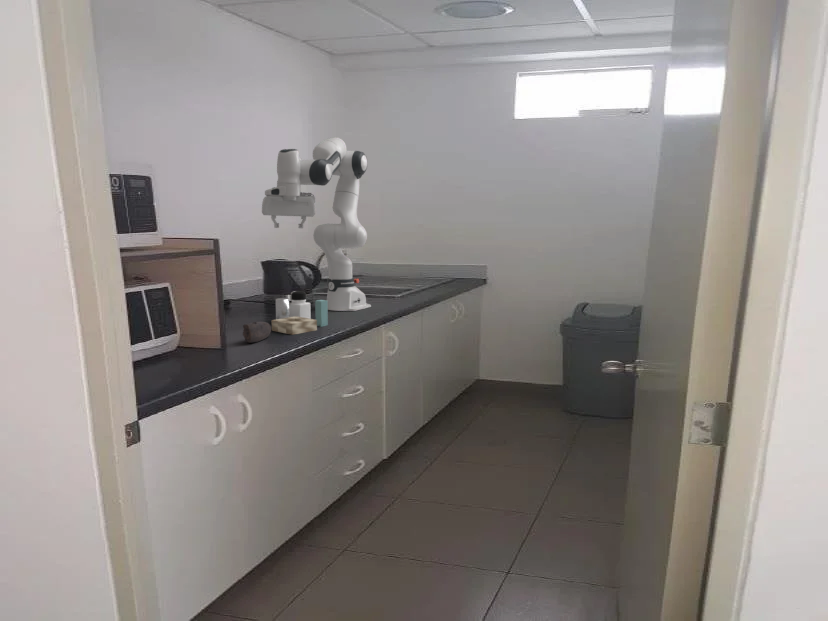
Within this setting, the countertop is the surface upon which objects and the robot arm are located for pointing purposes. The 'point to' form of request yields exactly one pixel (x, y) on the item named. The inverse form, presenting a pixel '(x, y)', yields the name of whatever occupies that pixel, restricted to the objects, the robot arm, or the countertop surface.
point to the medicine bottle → (299, 305)
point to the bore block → (294, 325)
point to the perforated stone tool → (256, 331)
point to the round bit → (282, 308)
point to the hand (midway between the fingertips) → (288, 228)
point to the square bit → (321, 312)
